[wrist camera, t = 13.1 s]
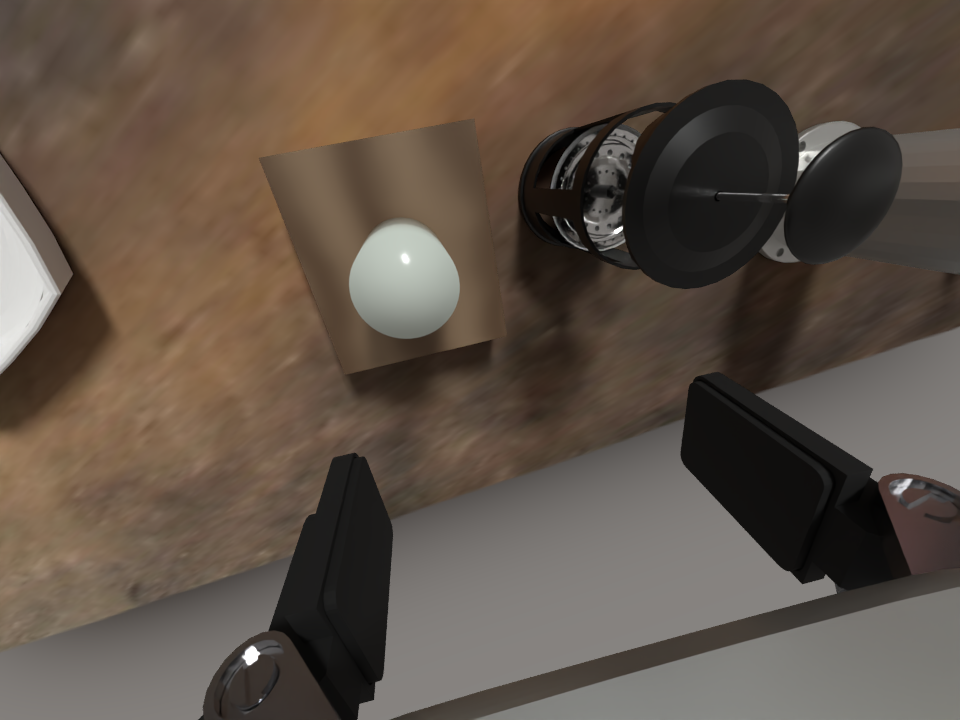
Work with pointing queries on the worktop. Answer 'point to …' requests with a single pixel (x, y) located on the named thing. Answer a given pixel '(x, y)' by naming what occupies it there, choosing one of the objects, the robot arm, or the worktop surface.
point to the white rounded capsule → (404, 280)
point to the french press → (709, 186)
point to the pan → (25, 268)
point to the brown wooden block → (376, 198)
